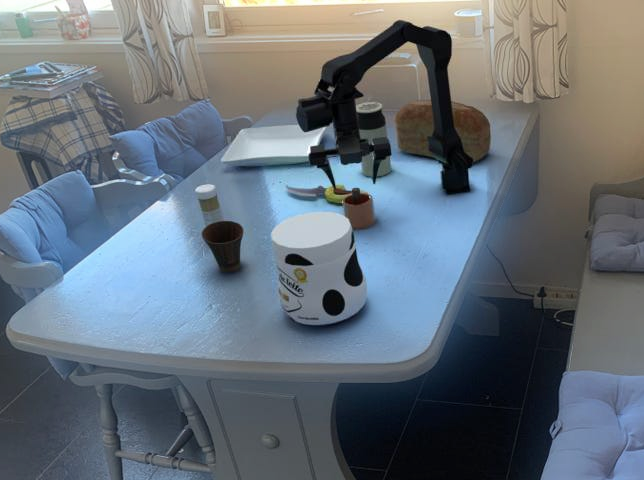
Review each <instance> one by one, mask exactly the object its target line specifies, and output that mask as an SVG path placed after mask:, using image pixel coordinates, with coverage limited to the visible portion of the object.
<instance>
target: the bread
mask: <svg viewBox="0 0 644 480" xmlns="http://www.w3.org/2000/svg"><path fill="white" fill-rule="evenodd" d="M451 103H452V112H453V120H454V127H455V129H456V131H457V133H458V134H459V136H460V138H461V141H462V144H463V148H464V152H465V153H466V154H467V155H469V156H470V157H471V158H473V163H475V162H478V161H480V160H481V159H483V158H484V157H485V156H486V155H487V154H488V153H489V152H490V149H491V141H492V136H491V135H492V134H491V123H490V121H489V119H488V117H487V116H486V115H485V114H484V112H483V111H481V110H480V109H478V108H476V107H474V106H471V105H467V104H464V103H461V102H455V101H452V100H451ZM393 120H394V125H395V135H396V143H397V144H396V145H397V147H398V149H399V150H400V151H402V152H403V153H406V154H411V155H421V156H426V157H430V158H434V157H433V156H432V154H431V152H430V151H428V150H429V142H428V139H427V136H430V135H432V134H433V131H434V119H433V112H432V104H431V99H417V100H415V101H411V102H407V103H405V104H404V105H403V106H401V107H399V109H398V110H397V111H396V113H395V115H394V119H393Z"/></svg>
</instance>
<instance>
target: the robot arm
mask: <svg viewBox="0 0 644 480" xmlns="http://www.w3.org/2000/svg"><path fill="white" fill-rule="evenodd" d="M406 43H411V44H414V45H416V48H417V52H418V56H419V58H420V60H421V61H422V63H423V66H424V67H425V69H426V72H427V73H426V74H427V82H428V88H429V95H430V100H431V104H432V112H433V119H434V131H433V134H432V135H430V136H427V139H428V142H429V150H428V151H430V152H431V154H432V156H433V157H432V158H435V159H436V161H437V163H438V164H440V165H441V170H440V184H441V188H442V190H443V191H444V193H445V194H446V195H451V194H457V193H459V194H460V193H466V192H471V191H472V188H471V186H470V177H469V176H470V175H469V173H470V172H469V169H472V167H473V164H474V162H473V158H471V157H470V156H469V155H467V154H466V153H465V152H464V148H463V144H462V141H461V138H460V136H459V134H458V133H457V131H456V129H455V127H454V120H453V112H452V103H451V101H452V97H451V96H452V95H451V87H450V77H449V69H448V67H449V64H450V63H451V59H452V54H453V39H452V35H451V34H450V33H449V32H448V31H446V30H444V29H440V28H437V27H434V26H430V25H425V26H423V27H421V26H418V25H415V24H414V23H413V22H411V21H406V20H403V19H398V20H396V21H394V22H393V23H392V25H390V26H389V27H388V28H386V29H385V30H383V31H382V32H380V33H379V34H377V35H375V37H373V38H371V39H370V40H369V41H367V42H366V43H365V44H363V45H362V46H360V47H359V48H357V49H356V50H354V51H353V52H351V53H346V54H343V55H338V56H336V57H334V58H332V59H330V60H327V61H326V62H325V63H324V64H323V65H322V66H321V72H320V78H319V80H318V82H317V85H316V88H315V89H314V92H313V95H314V96H312V97H307V98H306V97H305V98H304V97H303V98H299V99H297V106H296V109H295V111H296V112H295V118H296V121H297V125H299V126H300V128H301V129H302V131H303V132H309V131H313V130H317V129H320V128H324V127H327V126H328V127H330V125H331V124H332V129H333V135H334V144H335V147H334V148H327V149H326V145H325V144H319V145H317V146H310V147H309V148H308V157H309V161H308V163H309V166H311V167H316V169H320V170H322V172H323V173H325V175H326V177H327V178H328V180H329V182H330V184H331V186H333V188H334V189H335V190H336V185H337V184H336V179H335V177H334V173H333V170H332V166H331V163H330V160H329V159H331V158H339V160H340V164H341V165H342V166H348V165H352V164H353V165H354V164H361V162H362V157H363V156H366V155H370V152H372V177H371V178H372V184H373V185H376V182H377V178H378V177H377V173H378V169H379V166H380V163H381V162H382V160H386V157H387V156H390V157H391V156H392V155H393V153H392V147H391V141H390V140H389V137H388V136H387V137H379V138H372V144H369V142H368V138H366V139H361V138H360V132H359V125H358V118H357V111H356V106H357V105H356V100H357V99H360V98H364V96H365V95H364V93H363V92H361V91H359V89H357V87H356V86H357V85H359V83H360V82H361V81H362V79H363V78H364V76H365V74H366V73H367V71H369V70H370V69H371V68H372V67H374V66H376V65H377V64H378V63H380V62H381V61H383V60H384V59H386V58H387V57H388V56H389V55H391V54H393V53H394V52H395V51H397V50H398V49H400V48H401V47H403V46H405V44H406ZM329 89H332V91H331V90H329ZM328 127H327V128H328Z"/></svg>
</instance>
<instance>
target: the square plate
mask: <svg viewBox="0 0 644 480" xmlns="http://www.w3.org/2000/svg"><path fill="white" fill-rule="evenodd" d="M328 127H329V126H327V127H324V128H320V129H317V130H313V131H309V132H303V131H302V129H301V128H300V126H299V124H292V125H291V124H290V125H289V124H288V125H287V124H286V125H272V126H271V125H270V126H262V127H251V128H242V129H241V130H240V131H239V132H238V134H237V135H236V137H235V138H234V140H233V141H232V142H231V144H230V145H229V147H228V149H227V150H226V152H225V153H224V154H223V156H222V157H221V159H220V163H222V164H225V165H226V166H230V167H231V166H232V167H242V166H243V167H263V166H265V167H266V166H279V165H280V166H281V165H296V164H301V163H305V162H306V163H307V162H309V157H308V148H309V147H310V146H317V145H320V143H321V141H322V139H323V137H324V135H325V133H326V131H327V129H328Z"/></svg>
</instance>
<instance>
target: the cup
mask: <svg viewBox="0 0 644 480" xmlns="http://www.w3.org/2000/svg"><path fill="white" fill-rule="evenodd" d="M244 233H245V232H244V227H243V226H242V224H241V223H239V222H236V221H233V220H224V221H219V222H215V223H212V224H210V225H208V226H207V227H206V226H205V227H204V228H203V229H202V231H201V237H202V240H203V241H204V242H205V243H206V245H207V246H208V247H209V249H210V252H211V254H212V255H213V257H214V260H215V261H216V263H217V267H218V269H219V271H221V272H223V273H227V274H228V273H235V272H237V271H239V270H240V269H241V267H242V262H241V246H242V240H243V237H244Z"/></svg>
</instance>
